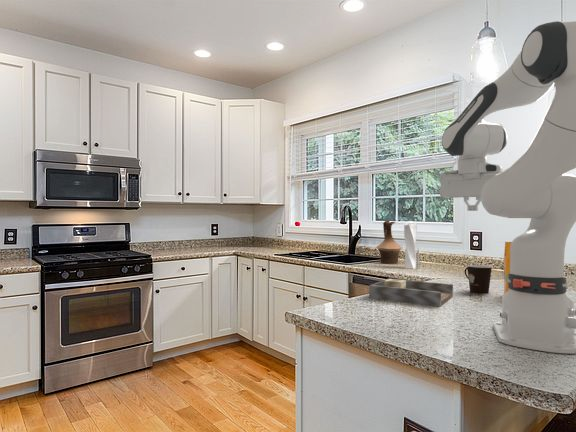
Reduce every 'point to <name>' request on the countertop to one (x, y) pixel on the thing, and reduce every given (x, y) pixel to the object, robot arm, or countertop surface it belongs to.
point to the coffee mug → (479, 278)
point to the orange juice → (506, 265)
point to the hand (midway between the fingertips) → (472, 210)
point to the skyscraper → (411, 246)
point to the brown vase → (389, 246)
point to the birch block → (395, 283)
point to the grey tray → (413, 292)
